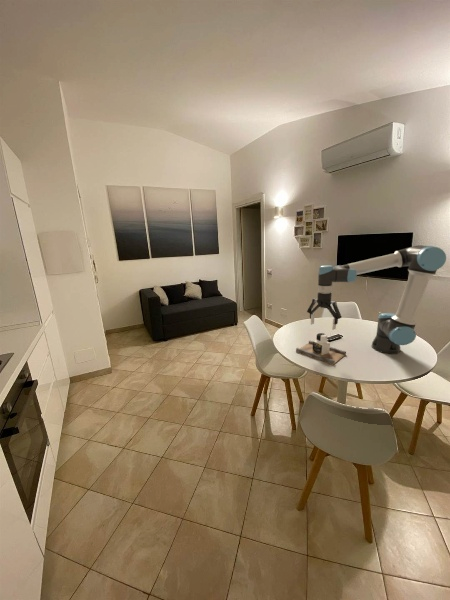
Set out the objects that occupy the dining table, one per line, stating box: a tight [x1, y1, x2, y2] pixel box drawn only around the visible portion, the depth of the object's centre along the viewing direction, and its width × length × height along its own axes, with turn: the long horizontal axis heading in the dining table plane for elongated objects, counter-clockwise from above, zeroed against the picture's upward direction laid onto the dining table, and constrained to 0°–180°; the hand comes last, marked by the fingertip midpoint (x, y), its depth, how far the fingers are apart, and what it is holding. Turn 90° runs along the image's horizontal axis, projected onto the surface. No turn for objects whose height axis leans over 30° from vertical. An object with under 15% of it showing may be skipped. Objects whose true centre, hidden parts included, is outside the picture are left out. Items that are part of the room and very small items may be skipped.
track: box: [295, 340, 347, 366], centre depth 150 cm, size 24×17×2 cm
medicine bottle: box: [312, 332, 331, 356], centre depth 149 cm, size 7×7×12 cm
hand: (322, 326), depth 146 cm, fingers open, 13 cm apart
